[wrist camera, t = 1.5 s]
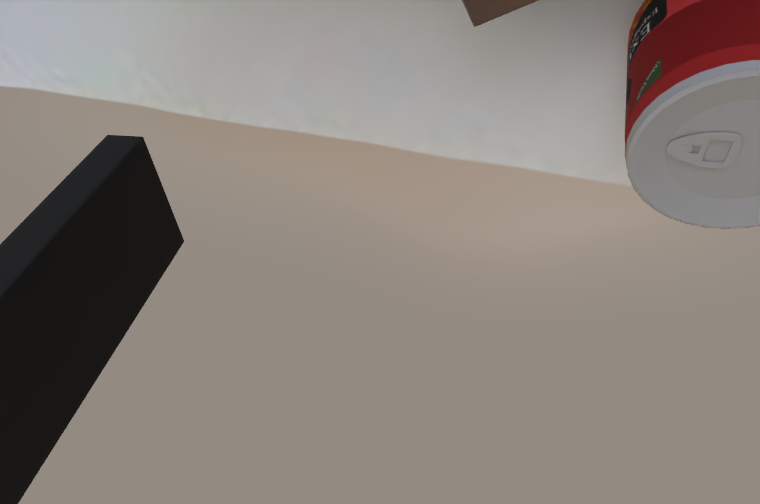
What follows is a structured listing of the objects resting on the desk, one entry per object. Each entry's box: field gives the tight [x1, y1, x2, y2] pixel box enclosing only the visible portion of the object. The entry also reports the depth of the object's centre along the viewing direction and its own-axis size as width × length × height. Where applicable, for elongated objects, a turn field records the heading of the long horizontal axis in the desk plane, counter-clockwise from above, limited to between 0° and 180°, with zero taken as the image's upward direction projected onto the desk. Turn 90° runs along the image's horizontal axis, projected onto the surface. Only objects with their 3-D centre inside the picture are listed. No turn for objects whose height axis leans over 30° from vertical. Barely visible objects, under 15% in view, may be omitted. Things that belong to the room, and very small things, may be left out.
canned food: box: [625, 0, 760, 229], centre depth 25 cm, size 8×8×11 cm
